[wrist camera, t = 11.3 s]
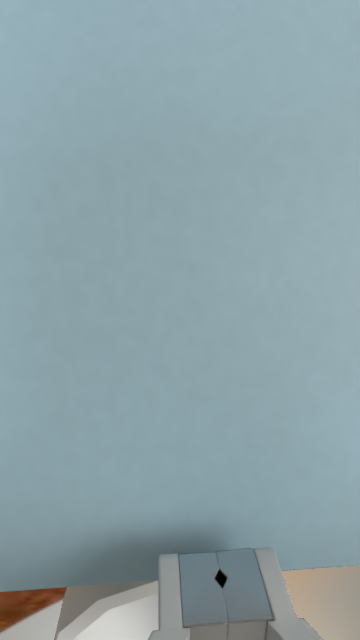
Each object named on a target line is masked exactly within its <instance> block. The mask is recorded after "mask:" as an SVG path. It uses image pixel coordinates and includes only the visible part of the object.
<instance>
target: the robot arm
mask: <svg viewBox="0 0 360 640" xmlns="http://www.w3.org/2000/svg"><path fill="white" fill-rule="evenodd" d="M158 621H159V630H153V631H152V632H151V634H150V636H149V638H148V640H323V639H322V637H321V636H320V635H319V634H318V633H317V632H316V631H315V630H314V629H313V628H312V627H311V626H310V625H309V623H308V622H307V621H306V620H305V619H304V618H297V615H296V612H295V609H294V607H293V604H292V601H291V598H290V595H289V592H288V589H287V586H286V583H285V580H284V578H283V575H282V571H281V568H280V566H279V563H278V560H277V557H276V554H275V551H274V550H273V549H272V547H263V548H253V549H252V548H243V549H232V550H221V551H215V552H199V553H179V554H178V553H176V554H162V555H159V560H158Z"/></svg>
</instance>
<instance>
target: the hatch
mask: <svg viewBox="0 0 360 640" xmlns="http://www.w3.org/2000/svg"><path fill="white" fill-rule="evenodd" d="M263 547H272V549H273V550H274V551H275V554H276V557H277V560H278V563H279V566H280V568H281V571H288V570H301V569H314V568H328V567H341V566H354V565H360V0H0V592H7V591H20V590H34V589H47V588H61V587H74V586H87V585H101V584H114V583H127V582H141V581H154V580H158V560H159V555H162V554H176V553H178V554H179V553H199V552H215V551H221V550H232V549H243V548H252V549H253V548H263Z"/></svg>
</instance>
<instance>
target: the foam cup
mask: <svg viewBox="0 0 360 640" xmlns="http://www.w3.org/2000/svg"><path fill="white" fill-rule="evenodd" d="M153 630H159V621H158V580H154V581H141V582H127V583H114V584H101V585H87V586H74V587H67V590H66V593H65V596H64V600H63V604H62V608H61V613H60V617H59V621H58V626H57V630H56V634H55V639H54V640H148V638H149V636H150V634H151V632H152V631H153Z"/></svg>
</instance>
